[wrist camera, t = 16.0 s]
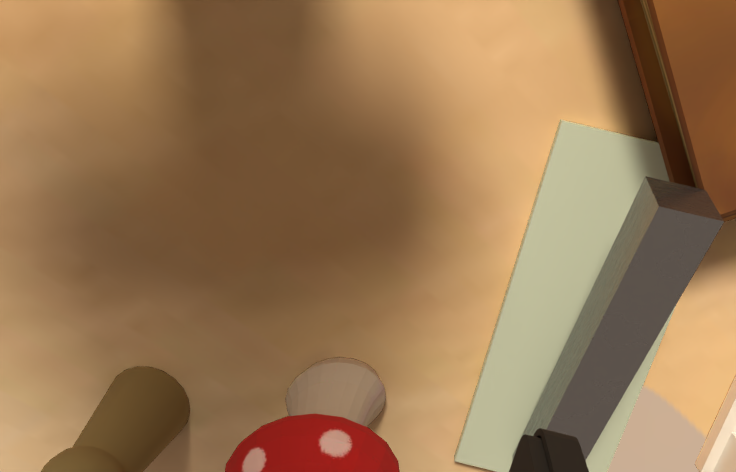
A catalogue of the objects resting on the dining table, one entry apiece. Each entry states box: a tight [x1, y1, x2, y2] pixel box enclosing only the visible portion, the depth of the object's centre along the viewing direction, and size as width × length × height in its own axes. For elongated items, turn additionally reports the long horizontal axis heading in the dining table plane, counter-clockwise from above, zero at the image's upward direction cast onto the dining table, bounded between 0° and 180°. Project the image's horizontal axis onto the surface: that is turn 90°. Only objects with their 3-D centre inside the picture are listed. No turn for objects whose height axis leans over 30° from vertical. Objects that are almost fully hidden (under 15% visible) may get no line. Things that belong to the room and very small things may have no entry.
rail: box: [512, 176, 724, 461], centre depth 37 cm, size 22×3×3 cm, turn 167°
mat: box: [454, 119, 675, 472], centre depth 41 cm, size 24×10×1 cm, turn 167°
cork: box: [41, 367, 190, 472], centre depth 41 cm, size 6×6×11 cm
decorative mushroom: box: [225, 357, 400, 472], centre depth 37 cm, size 10×9×15 cm
